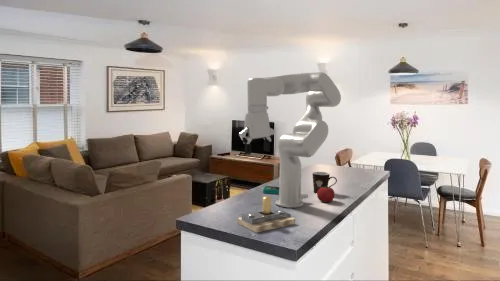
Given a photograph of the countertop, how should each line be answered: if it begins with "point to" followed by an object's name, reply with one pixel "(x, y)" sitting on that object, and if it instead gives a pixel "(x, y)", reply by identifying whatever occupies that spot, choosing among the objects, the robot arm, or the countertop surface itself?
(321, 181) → the coffee mug
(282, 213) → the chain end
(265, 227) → the board
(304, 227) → the countertop surface
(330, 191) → the tomato
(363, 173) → the countertop surface
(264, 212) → the brass pin
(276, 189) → the digital multimeter
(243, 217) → the plate
